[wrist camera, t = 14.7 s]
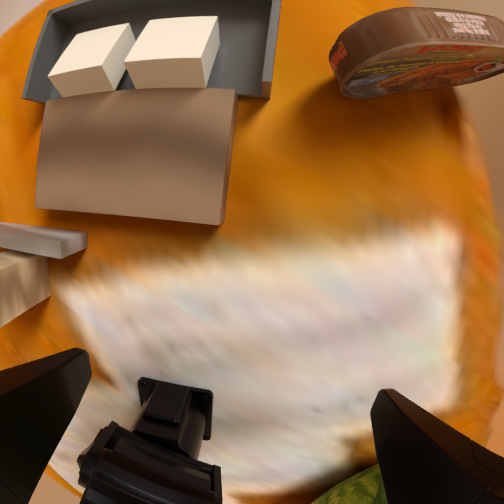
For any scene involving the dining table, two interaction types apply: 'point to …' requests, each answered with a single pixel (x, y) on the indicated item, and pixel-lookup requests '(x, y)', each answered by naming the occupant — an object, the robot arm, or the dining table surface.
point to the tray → (160, 7)
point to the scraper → (30, 264)
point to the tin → (416, 51)
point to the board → (139, 153)
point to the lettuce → (357, 489)
